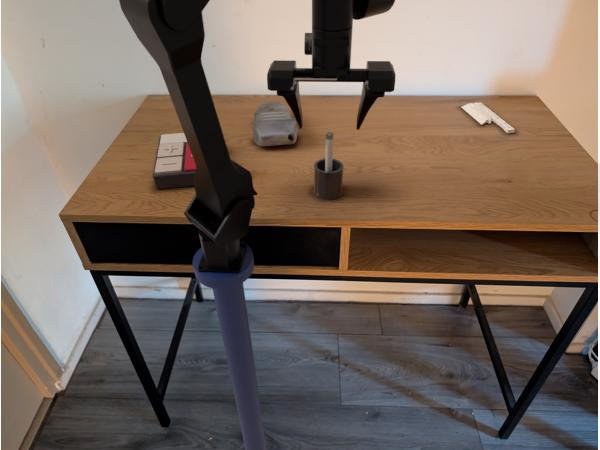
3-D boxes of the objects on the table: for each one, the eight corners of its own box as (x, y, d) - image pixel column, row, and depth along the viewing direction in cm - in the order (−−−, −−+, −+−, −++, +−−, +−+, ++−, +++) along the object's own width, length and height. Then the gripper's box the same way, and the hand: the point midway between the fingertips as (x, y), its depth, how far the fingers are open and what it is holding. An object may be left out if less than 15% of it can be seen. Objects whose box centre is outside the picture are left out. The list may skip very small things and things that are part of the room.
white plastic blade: (492, 135, 94) (493, 130, 94) (461, 107, 106) (462, 103, 105) (514, 132, 95) (515, 128, 94) (480, 105, 106) (481, 101, 106)
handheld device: (289, 109, 107) (289, 91, 104) (300, 149, 91) (300, 129, 88) (250, 112, 106) (249, 94, 103) (255, 152, 90) (253, 132, 87)
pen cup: (342, 200, 76) (343, 173, 73) (313, 199, 76) (313, 172, 73) (342, 184, 80) (343, 158, 77) (314, 183, 80) (314, 157, 77)
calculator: (151, 173, 77) (158, 131, 88) (156, 192, 80) (163, 149, 91) (213, 167, 78) (212, 127, 89) (216, 186, 81) (215, 145, 92)
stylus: (331, 191, 77) (333, 135, 71) (324, 191, 77) (325, 135, 71) (331, 187, 78) (333, 132, 72) (324, 187, 78) (326, 132, 72)
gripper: (393, 12, 66) (383, 108, 76) (273, 12, 68) (278, 107, 77) (401, 32, 58) (388, 138, 67) (263, 31, 59) (270, 135, 69)
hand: (329, 128), depth 70 cm, fingers open, 9 cm apart
